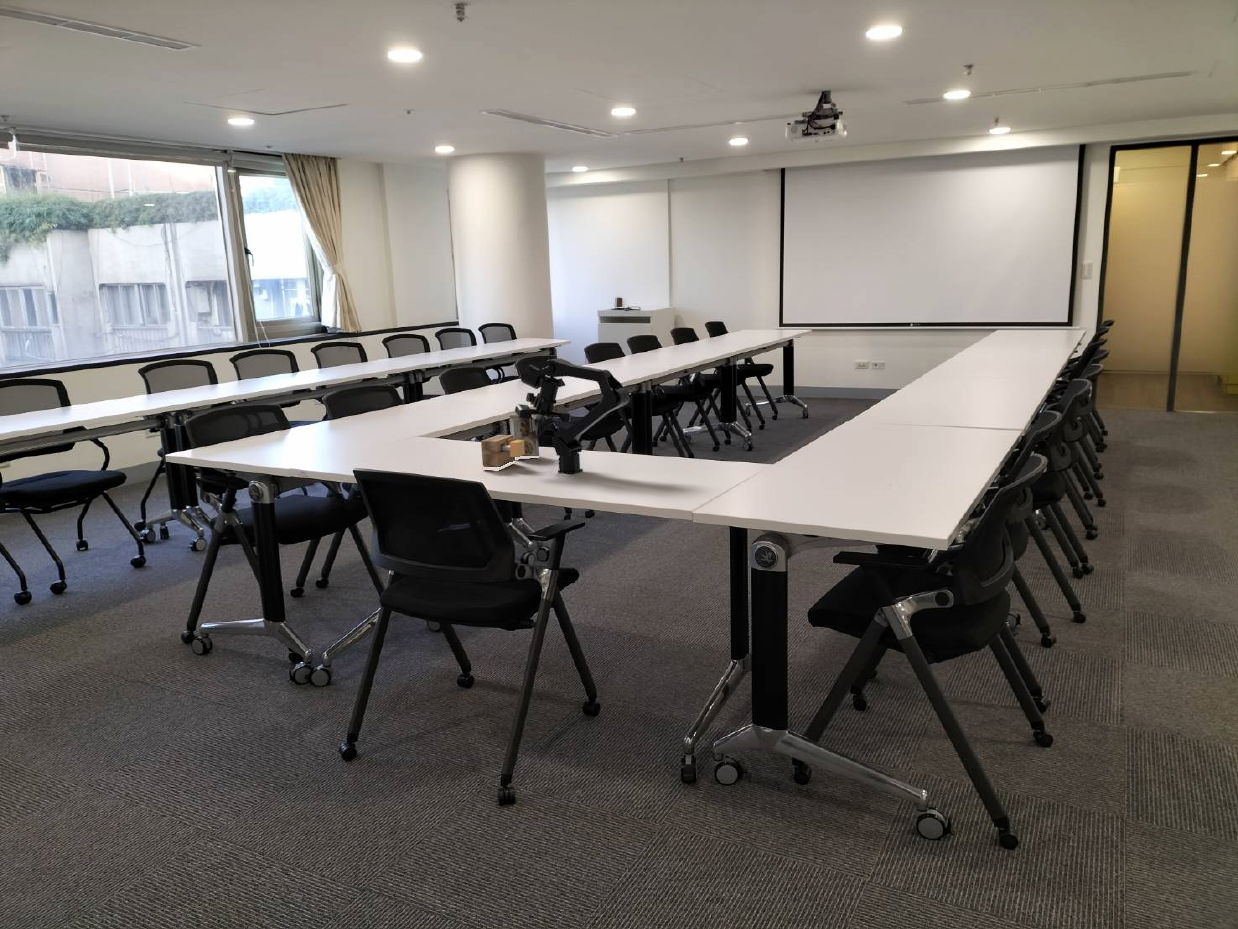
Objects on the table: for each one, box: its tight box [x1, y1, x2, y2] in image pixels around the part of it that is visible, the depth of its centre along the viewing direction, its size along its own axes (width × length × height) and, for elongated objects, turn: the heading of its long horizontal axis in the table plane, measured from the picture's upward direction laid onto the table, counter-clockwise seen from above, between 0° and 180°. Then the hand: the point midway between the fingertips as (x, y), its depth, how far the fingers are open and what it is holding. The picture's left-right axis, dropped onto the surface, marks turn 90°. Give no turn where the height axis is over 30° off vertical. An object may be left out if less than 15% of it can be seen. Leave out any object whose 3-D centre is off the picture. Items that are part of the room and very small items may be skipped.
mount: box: [480, 434, 516, 467], centre depth 309 cm, size 7×13×10 cm, turn 160°
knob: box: [501, 440, 525, 457], centre depth 304 cm, size 7×5×5 cm
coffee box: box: [509, 414, 540, 457], centre depth 324 cm, size 9×6×16 cm
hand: (537, 435), depth 302 cm, fingers closed
